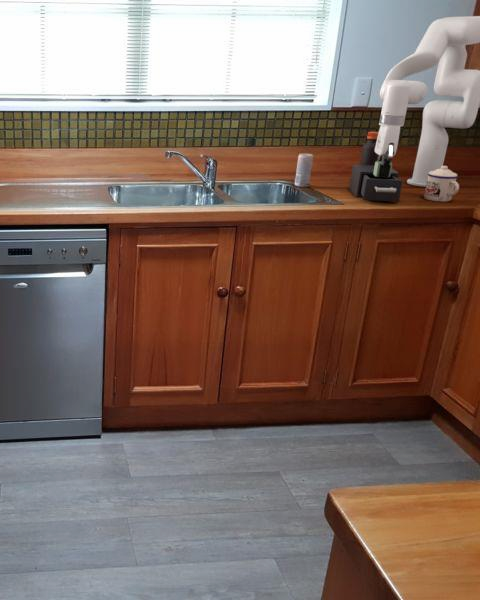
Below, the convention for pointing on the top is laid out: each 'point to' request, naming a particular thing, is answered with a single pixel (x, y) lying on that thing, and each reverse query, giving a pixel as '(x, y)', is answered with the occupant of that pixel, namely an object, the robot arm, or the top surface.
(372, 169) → the dark drawer box
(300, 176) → the energy drink
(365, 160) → the bottle
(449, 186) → the teacup with lid
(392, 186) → the black drawer unit
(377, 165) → the block
